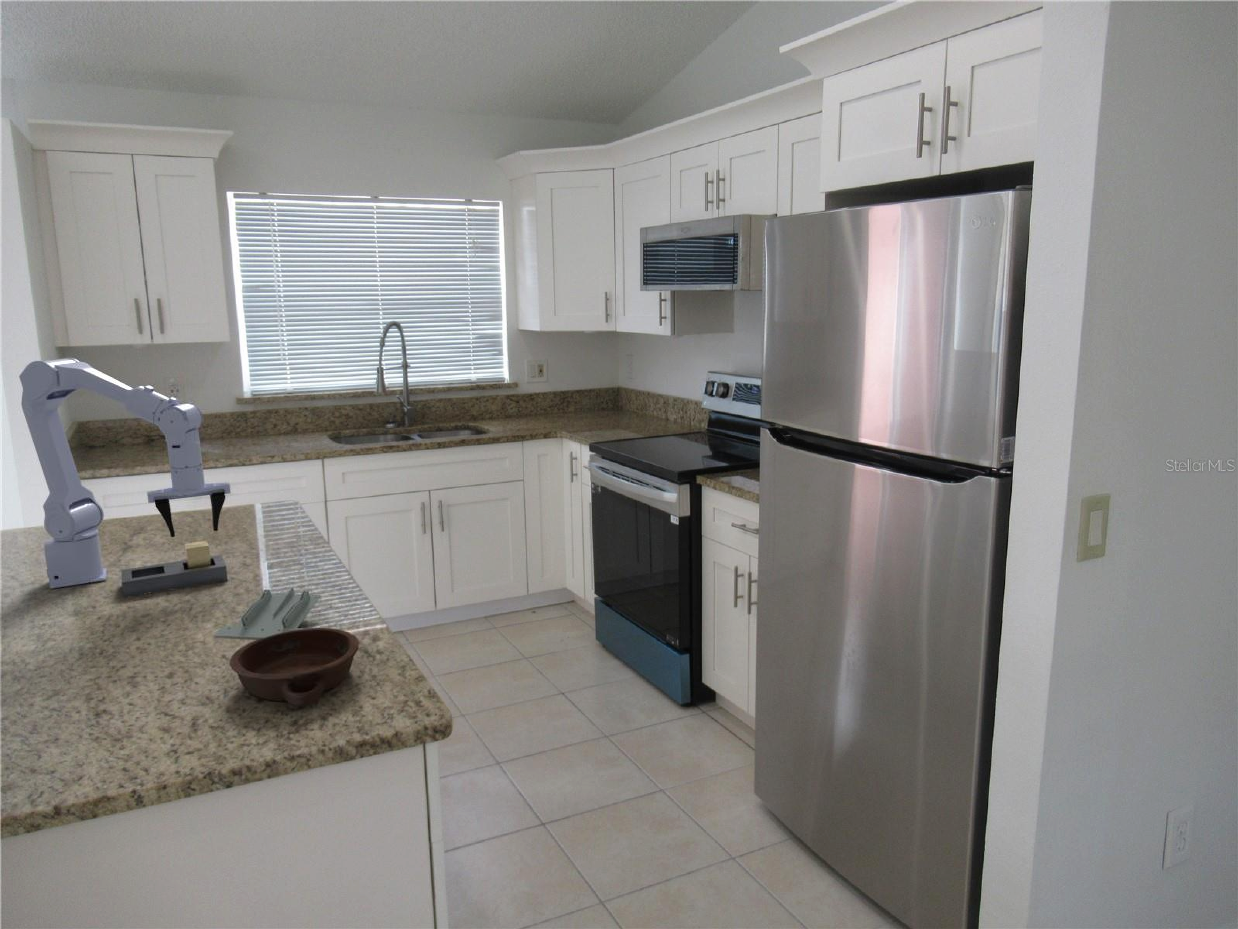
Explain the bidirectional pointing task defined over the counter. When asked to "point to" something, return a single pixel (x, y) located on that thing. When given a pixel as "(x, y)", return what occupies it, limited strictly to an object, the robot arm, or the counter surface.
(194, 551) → the brass peg
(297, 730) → the counter surface
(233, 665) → the dish
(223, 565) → the grey slotted block
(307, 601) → the metal bracket
